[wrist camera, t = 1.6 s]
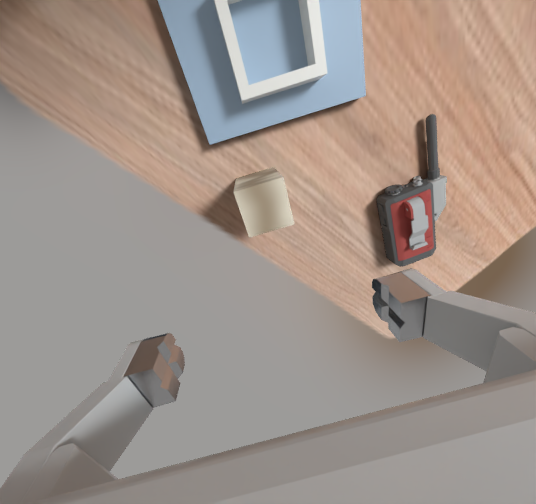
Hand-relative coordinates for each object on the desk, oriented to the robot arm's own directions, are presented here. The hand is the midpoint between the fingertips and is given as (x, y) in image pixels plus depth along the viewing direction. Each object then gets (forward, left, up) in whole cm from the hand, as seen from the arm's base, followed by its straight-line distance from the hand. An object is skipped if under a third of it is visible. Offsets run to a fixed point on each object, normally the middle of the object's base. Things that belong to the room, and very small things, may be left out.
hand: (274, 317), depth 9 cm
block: (-1, 0, -24) cm, 23 cm away
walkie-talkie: (-21, +8, -24) cm, 33 cm away
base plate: (-6, -14, -23) cm, 28 cm away
